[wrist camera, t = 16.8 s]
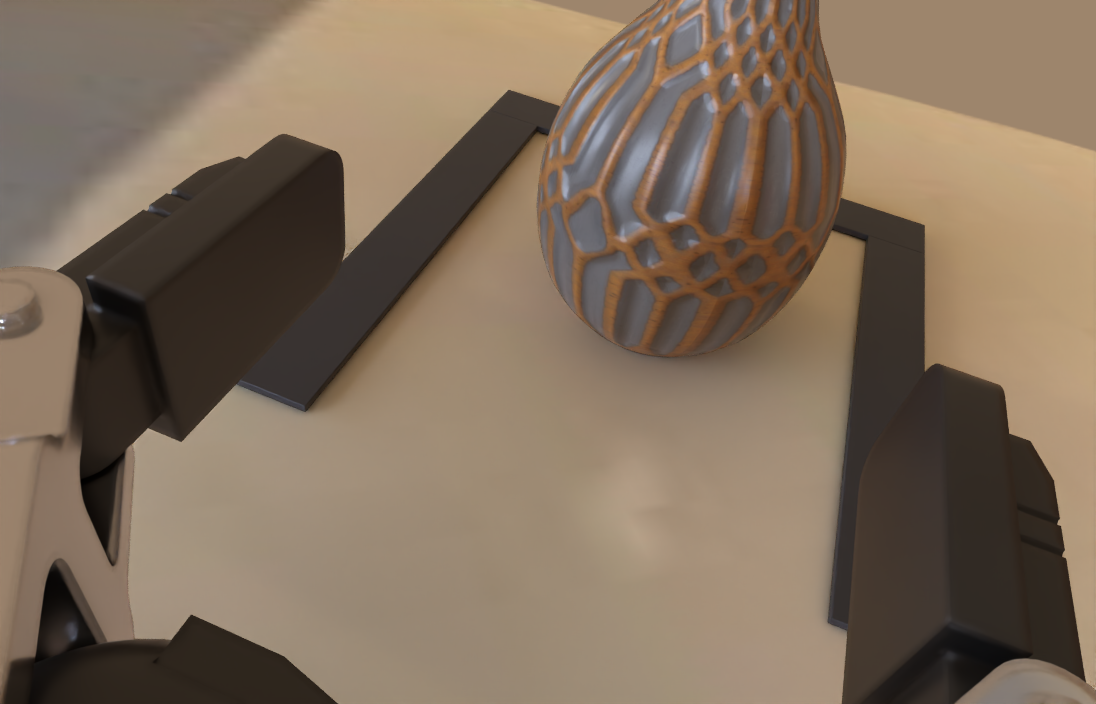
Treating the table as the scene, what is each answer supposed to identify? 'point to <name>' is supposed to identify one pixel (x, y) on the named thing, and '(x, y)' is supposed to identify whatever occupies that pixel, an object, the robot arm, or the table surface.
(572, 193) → the vase
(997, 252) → the table surface
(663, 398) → the table surface
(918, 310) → the tape u shape
